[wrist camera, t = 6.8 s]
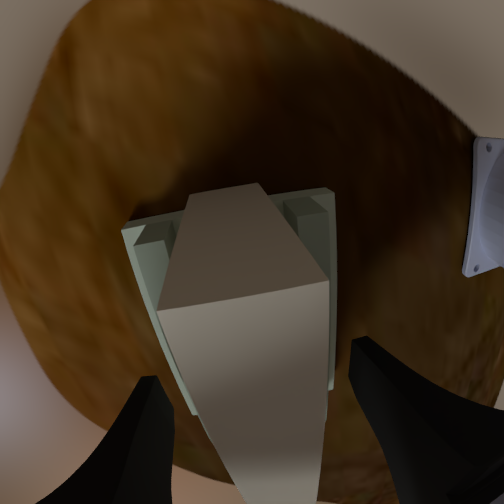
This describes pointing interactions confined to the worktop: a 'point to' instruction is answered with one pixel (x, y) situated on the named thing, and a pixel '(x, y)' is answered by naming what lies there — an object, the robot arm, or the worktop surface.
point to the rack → (295, 213)
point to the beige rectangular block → (251, 340)
